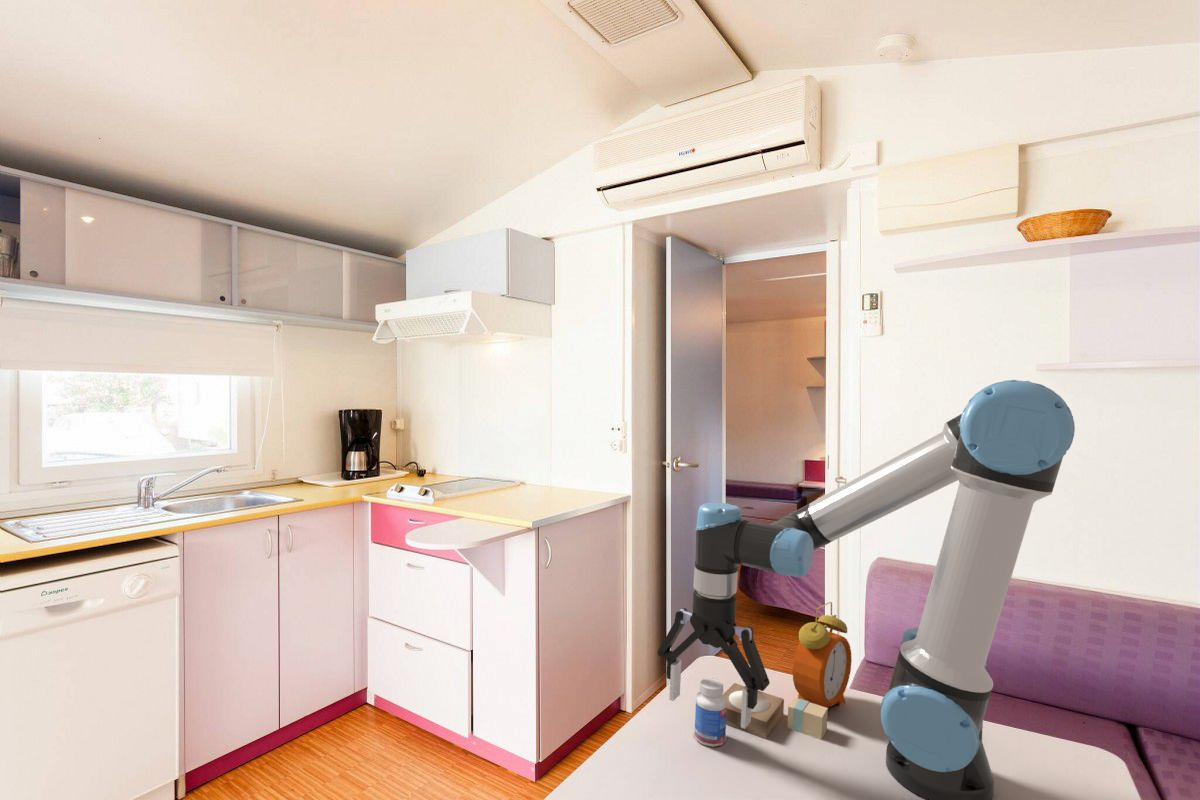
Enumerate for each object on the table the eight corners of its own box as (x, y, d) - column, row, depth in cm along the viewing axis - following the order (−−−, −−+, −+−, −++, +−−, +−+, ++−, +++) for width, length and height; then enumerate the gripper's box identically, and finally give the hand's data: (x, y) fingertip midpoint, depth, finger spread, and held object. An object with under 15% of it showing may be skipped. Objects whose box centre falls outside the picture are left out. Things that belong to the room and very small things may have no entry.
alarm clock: (820, 724, 110) (824, 618, 110) (790, 711, 114) (793, 608, 114) (851, 700, 119) (855, 602, 119) (822, 688, 124) (825, 593, 123)
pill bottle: (725, 750, 101) (727, 693, 101) (693, 745, 102) (695, 689, 102) (725, 732, 107) (727, 678, 107) (695, 727, 108) (697, 674, 108)
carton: (826, 729, 109) (827, 707, 109) (821, 740, 105) (821, 717, 105) (794, 718, 112) (794, 696, 112) (787, 728, 109) (788, 706, 109)
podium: (783, 714, 113) (784, 698, 113) (765, 738, 105) (766, 721, 105) (733, 697, 119) (734, 682, 119) (713, 719, 111) (713, 703, 111)
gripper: (792, 603, 100) (785, 726, 101) (662, 571, 114) (657, 679, 115) (778, 616, 94) (771, 747, 94) (643, 581, 108) (637, 695, 109)
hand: (708, 710), depth 105 cm, fingers open, 13 cm apart
